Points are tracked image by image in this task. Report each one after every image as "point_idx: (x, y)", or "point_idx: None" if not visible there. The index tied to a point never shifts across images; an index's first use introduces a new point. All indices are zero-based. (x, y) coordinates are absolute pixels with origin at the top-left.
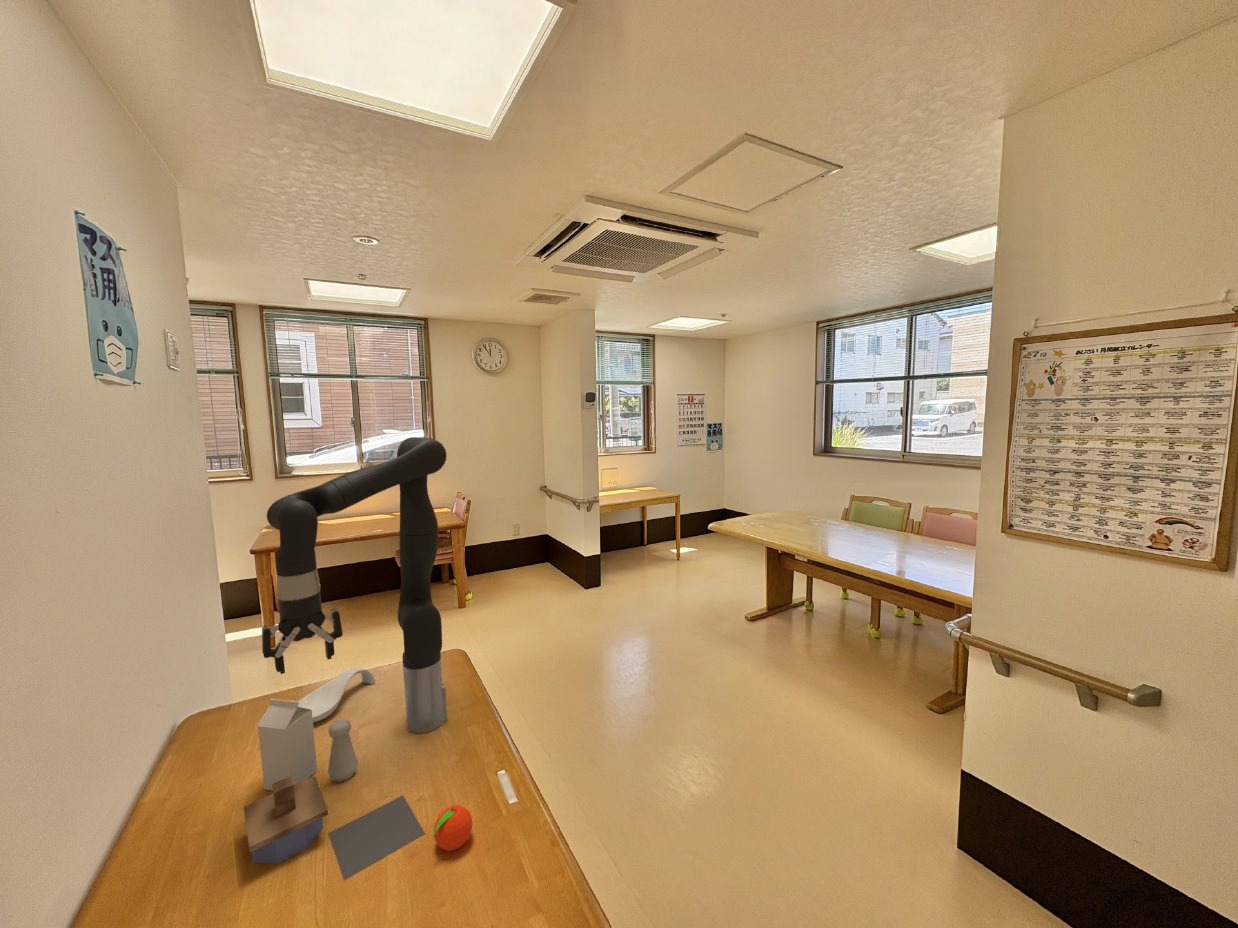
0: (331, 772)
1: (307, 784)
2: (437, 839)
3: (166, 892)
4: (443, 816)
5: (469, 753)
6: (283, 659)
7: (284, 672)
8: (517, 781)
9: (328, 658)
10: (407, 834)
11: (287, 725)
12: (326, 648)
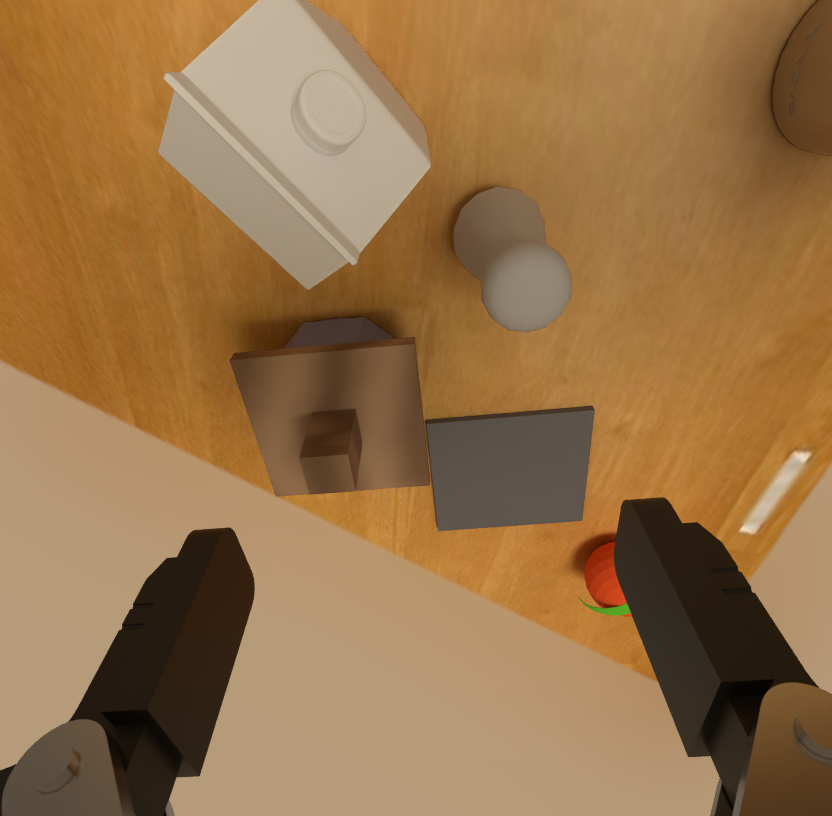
0: (461, 260)
1: (391, 370)
2: (587, 587)
3: (133, 382)
4: (615, 607)
5: (807, 352)
6: (209, 738)
7: (250, 596)
8: (796, 496)
9: (621, 580)
10: (555, 505)
11: (315, 283)
12: (663, 652)
